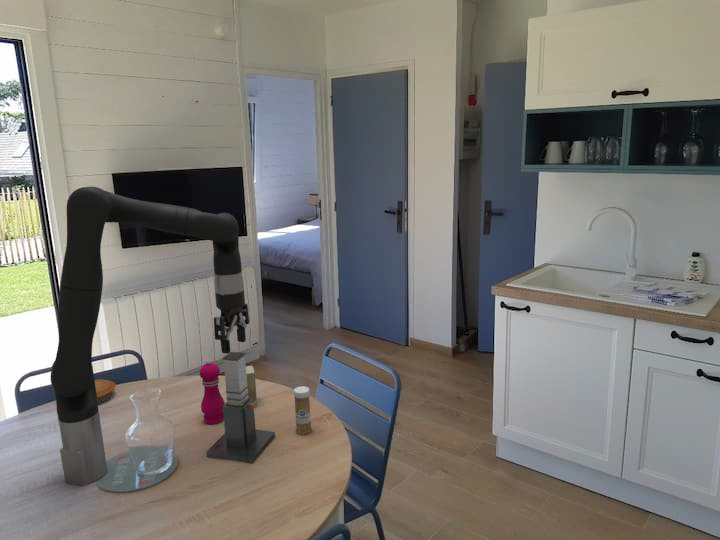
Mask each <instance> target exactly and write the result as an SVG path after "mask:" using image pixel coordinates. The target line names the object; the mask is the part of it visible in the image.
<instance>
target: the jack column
mask: <svg viewBox="0 0 720 540" xmlns="http://www.w3.org/2000/svg"><path fill="white" fill-rule="evenodd" d="M222 360H223V369H224V381H225V393H226V402H227V406H233V407H241V408H242V407H243V406H244V405H245V404H246V403H247V402H248V401H249V399H248V394H249V393H248V386H247V374H246V366H247V365H246V352H237V351H236V352H235V351H230V353H228V354H227V353H226V354H225V356H223V357H222Z"/></svg>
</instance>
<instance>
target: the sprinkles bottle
mask: <svg viewBox="0 0 720 540" xmlns="http://www.w3.org/2000/svg"><path fill="white" fill-rule="evenodd" d="M310 395H311V393H310V388H309V387H308V386H297V387H295V388H294V390H293V396H294V410H295V412H294V413H295V427H296V429H295V432H296V433H297V434H299V435H308V434H309V433H311V431H312V427H311V404H310Z"/></svg>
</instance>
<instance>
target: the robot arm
mask: <svg viewBox="0 0 720 540" xmlns="http://www.w3.org/2000/svg"><path fill="white" fill-rule="evenodd" d="M66 201H67V202H66V247H65V252H64V257H63V263H62V270H61V276H60V282H59V292H58V306H57V312H58V313H57V314H58V315H57V316H58V317H57V318H58V320H57V322H58V346H57V350H56V355H55V360H54V361H53V363H52V365H51V369H50V370H51V371H50V383H51V386H52V388H53V389H54V394H55V402H56V403H55V405H56V414H57V422H58V426H59V431H60V433H59V434H60V438H61V444H62V447H61V448H60V449H59V453H60V458H61V464H62V470H63V476H64V483H67V484H72V485H78V486H83V487H85V486H87V485H88V484H90V483H93V482H96V481H97V480H99V479H101V478H102V477H104V476H105V475H106V473H107V472H108V464H107V458H106V451H105V446H104V445H105V444H104V438H103V433H102V432H103V431H102V425H101V417H100V412H99V404H98V402H97V393H96V387H95V380H96V379H95V374H94V366H93V342H94V336H95V331H96V329H97V324H98V319H99V314H100V308H101V305H102V304H101V303H102V296H103V288H104V287H103V286H104V274H103V264H102V255H101V254H102V253H101V244H102V239H103V233H104V230H105V225H106V223H121V224H129V225H136V226H141V227H145V228H148V229H152V230H155V231H160V232H163V233H169V234H175V235H181V236H191V237H197V238H200V239H204V240H206V241H212V247H213V257H212V258H213V259H212V261H213V262H212V263H213V274H214V280H213V281H214V282H213V283H214V284H213V285H214V296H215V306H216V308H217V309H218V310H220V316H214V317H213V330H214V340H216V341H220V348H221V353H222V354H226V355H227V354H229V353H230V352H231V343H230V338H231V337H230V335H231V333H232V332H233V331H234V328H235V327H236V334H237V335H236V338H237V342H239V343H245V342H246V341H247V339H246V338H247V337H246V328H247V325H249V324H250V316H249V315H250V314H249V305H248V303H246V299H245V298H246V297H245V287H244V285H245V284H244V283H245V282H244V276H243V272H242V270H243V269H242V259H241V253H240V250H239V249H240V248H239V246H240V245H239V232H240V228H239V227H240V226H239V224H238V220H237V219H236V218H235V216H233V215H232V214H231V213H228V212H221V213H217V214H215V213H212V212H211V213H210V212H202V211H200V210H199V209H197V208H193V207H192V208H191V207H187V206H181V205H174V204H167V203H161V202H160V203H159V202H153V201H147V200H146V201H144V200H139V199H135V198H131V197H130V198H129V197H127V196H122V195H120V194H117V193H113V192H111V191H107V190H104V189H102V188H100V187H98V186H83V187H79V188H78V189H75V190H73V191H72V192H71V194H70V195H69V197H68V199H67V200H66Z"/></svg>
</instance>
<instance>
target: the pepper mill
mask: <svg viewBox="0 0 720 540" xmlns="http://www.w3.org/2000/svg"><path fill="white" fill-rule="evenodd" d="M220 374H221V370H220V367H219V365H217V364H216V363H213V362H212V360H211V359H210V358H208V359H206V360H205V364H204V365H202V366H201V367H200V368H199V376H200V378H201V383H202V386H203V389H204V392H203V397H202V400H201V405H200V410H201V412H202V413H203V422H204V424H208V425H216V424H219V423H222V422H224V415H223V405H224V404H225V403H226V402H225V400H224V398H223V396H222V395H221V392H220V391H219V390H220V389H219V383H220V378H219V376H220Z"/></svg>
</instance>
